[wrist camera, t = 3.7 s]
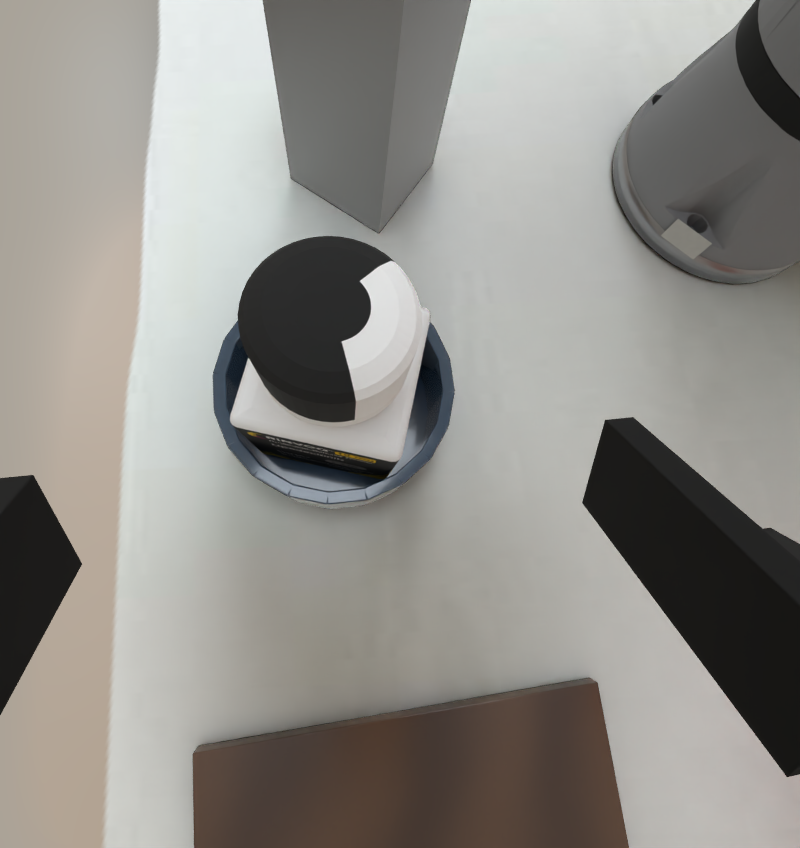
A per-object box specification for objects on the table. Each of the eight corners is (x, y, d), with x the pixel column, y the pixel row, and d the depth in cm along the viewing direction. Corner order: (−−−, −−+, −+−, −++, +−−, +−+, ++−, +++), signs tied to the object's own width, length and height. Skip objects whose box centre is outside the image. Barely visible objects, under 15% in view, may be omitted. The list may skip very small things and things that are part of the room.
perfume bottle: (290, 178, 29) (208, -344, 12) (349, 111, 31) (352, -430, 14) (379, 233, 29) (427, -215, 12) (432, 163, 31) (545, -319, 13)
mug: (448, 496, 26) (469, 489, 21) (239, 519, 24) (215, 517, 20) (417, 271, 29) (430, 224, 24) (230, 278, 27) (208, 230, 23)
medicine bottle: (259, 453, 25) (181, 384, 13) (292, 335, 27) (250, 183, 15) (386, 481, 25) (419, 438, 14) (411, 363, 27) (460, 237, 15)
